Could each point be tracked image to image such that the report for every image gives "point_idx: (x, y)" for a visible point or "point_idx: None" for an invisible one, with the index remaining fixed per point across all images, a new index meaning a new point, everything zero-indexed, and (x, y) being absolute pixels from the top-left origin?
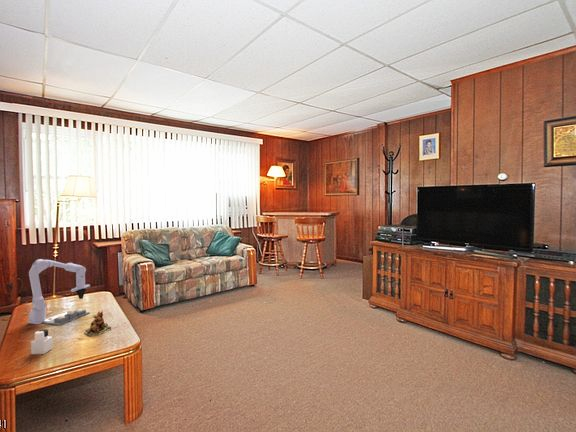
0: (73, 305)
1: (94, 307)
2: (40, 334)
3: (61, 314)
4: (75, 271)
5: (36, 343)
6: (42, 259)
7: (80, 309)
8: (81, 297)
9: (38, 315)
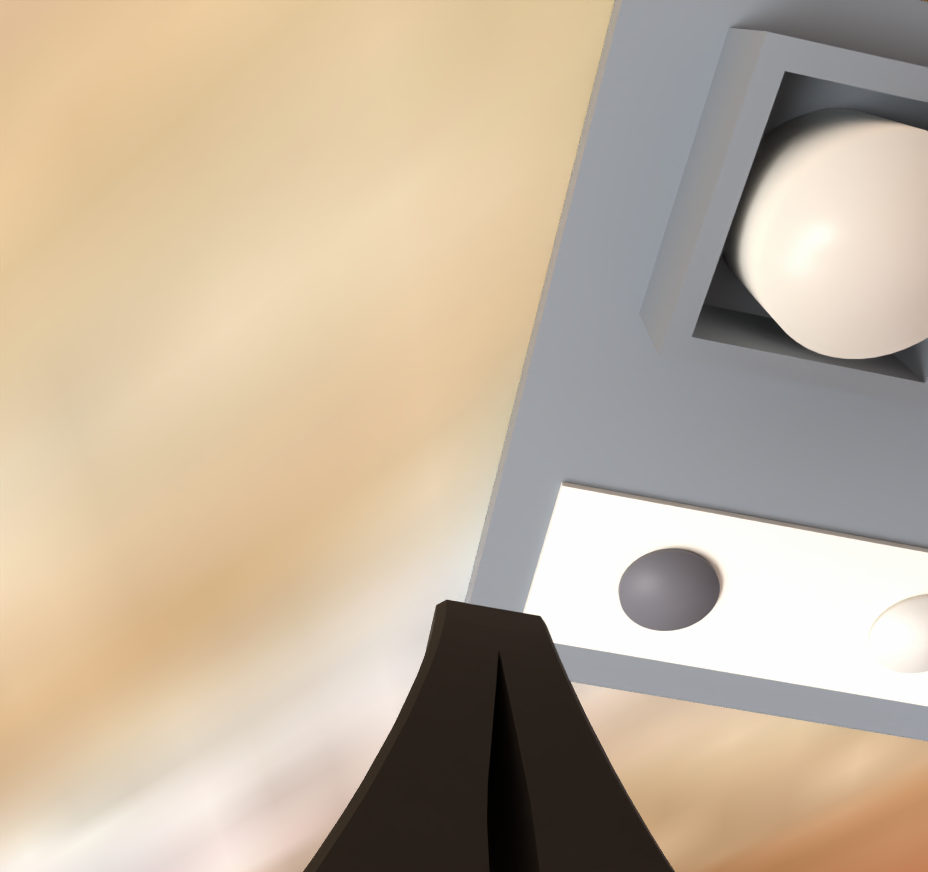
0: (87, 807)
1: (25, 227)
2: None
3: (825, 652)
4: None
5: None
6: None
7: (844, 230)
8: (560, 673)
9: None
